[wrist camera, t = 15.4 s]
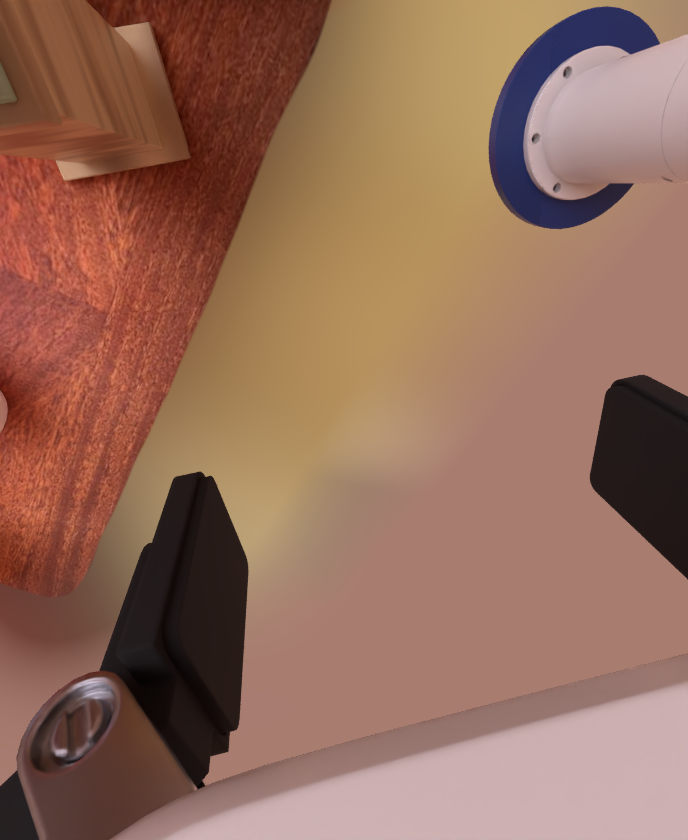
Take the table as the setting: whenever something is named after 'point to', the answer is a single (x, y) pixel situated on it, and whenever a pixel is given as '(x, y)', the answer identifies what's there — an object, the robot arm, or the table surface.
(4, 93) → the mat
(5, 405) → the white knot sculpture
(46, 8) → the pedestal
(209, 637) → the robot arm
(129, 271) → the table surface
